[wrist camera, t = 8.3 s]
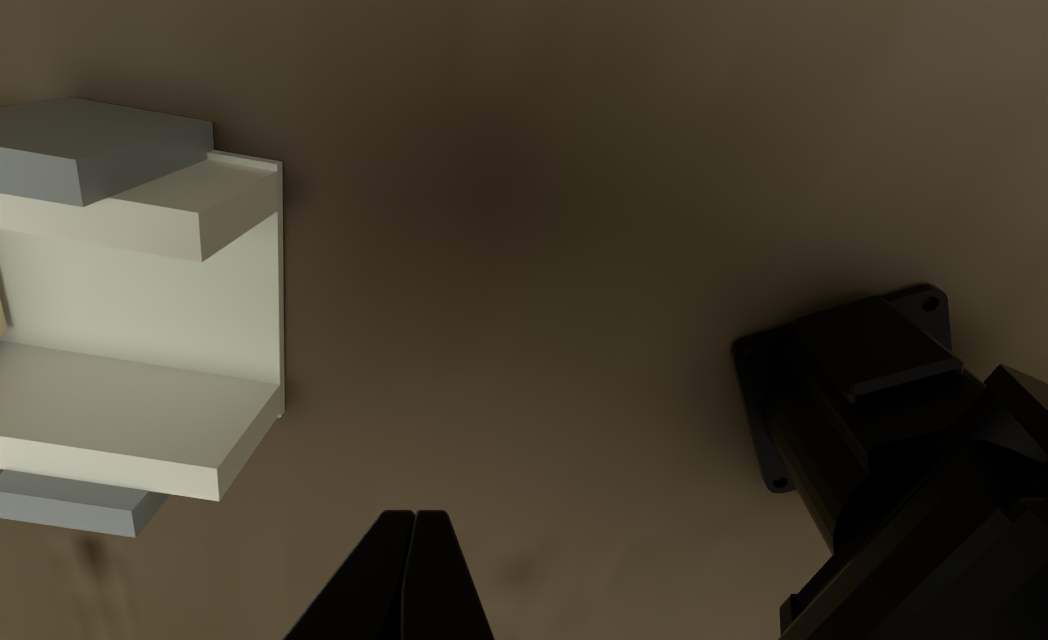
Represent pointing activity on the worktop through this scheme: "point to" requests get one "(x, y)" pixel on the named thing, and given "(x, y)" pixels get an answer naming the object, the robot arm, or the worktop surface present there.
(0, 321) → the maple block
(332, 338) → the worktop surface
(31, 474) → the chute
